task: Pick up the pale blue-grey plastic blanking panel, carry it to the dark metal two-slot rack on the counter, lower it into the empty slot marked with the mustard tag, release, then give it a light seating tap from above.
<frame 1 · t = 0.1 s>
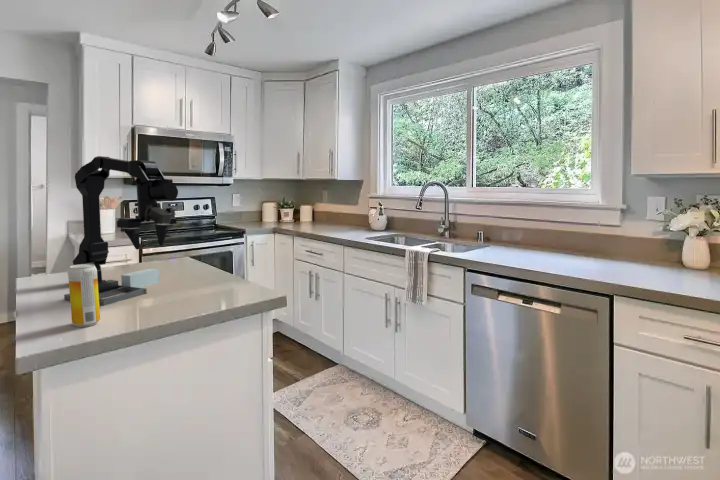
hand: (149, 247, 142), 14 cm above the worktop, tool pointing down, fingers open, 9 cm apart
beer can: (86, 324, 110), on the worktop
rack: (115, 297, 134), on the worktop
panel: (141, 286, 151), on the worktop
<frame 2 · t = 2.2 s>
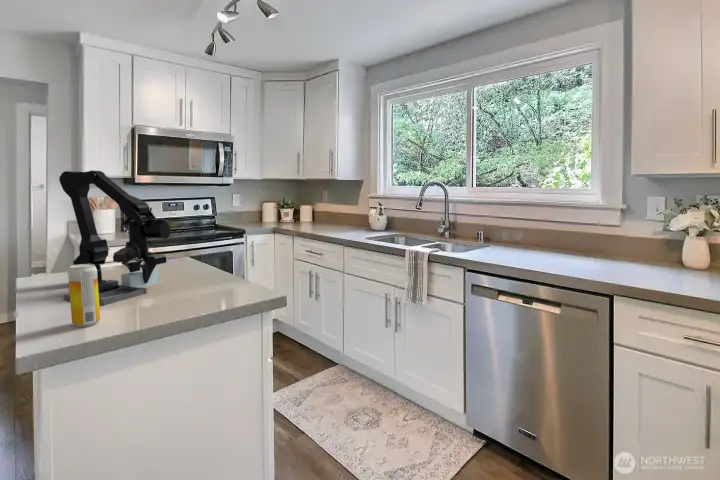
hand: (141, 282, 150), 1 cm above the worktop, tool pointing down, fingers closed on panel, 4 cm apart
panel: (141, 285, 150), on the worktop, touching gripper
everything else where it was.
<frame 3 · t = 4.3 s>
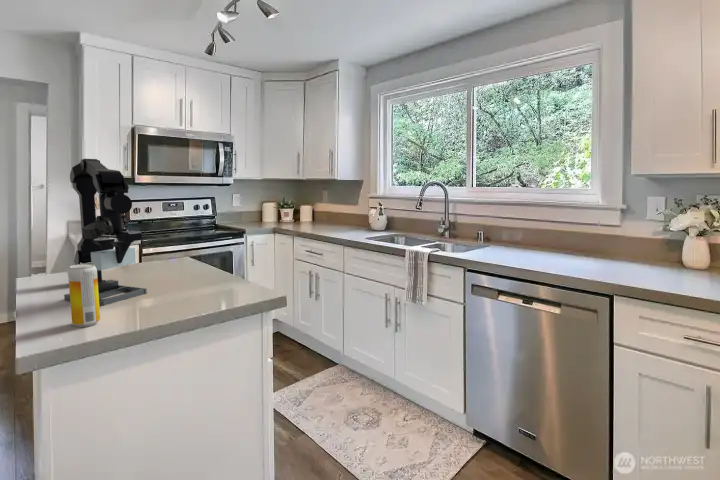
hand: (114, 262, 133), 11 cm above the worktop, tool pointing down, fingers closed on panel, 4 cm apart
panel: (114, 266, 133), point 10 cm above the worktop, touching gripper
everything else where it was.
when the fingers open (3 cm above the worktop, at t = 6.1 s): panel drops 2 cm, resting in rack.
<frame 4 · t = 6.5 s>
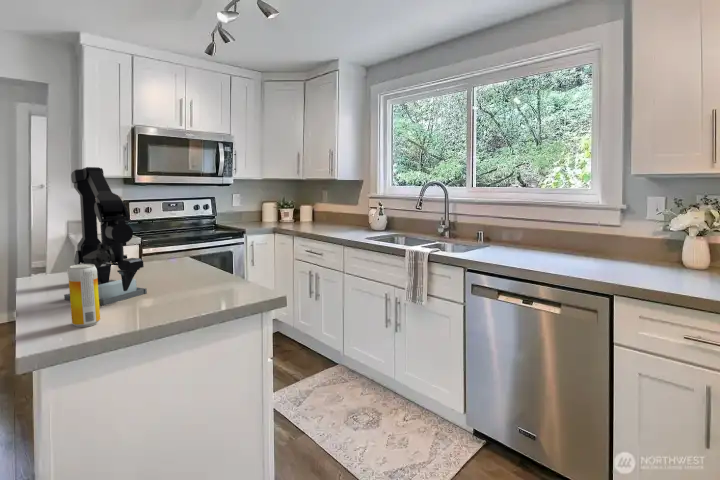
hand: (115, 289, 134), 3 cm above the worktop, tool pointing down, fingers open, 8 cm apart
panel: (115, 298, 135), resting in rack
everything else where it was.
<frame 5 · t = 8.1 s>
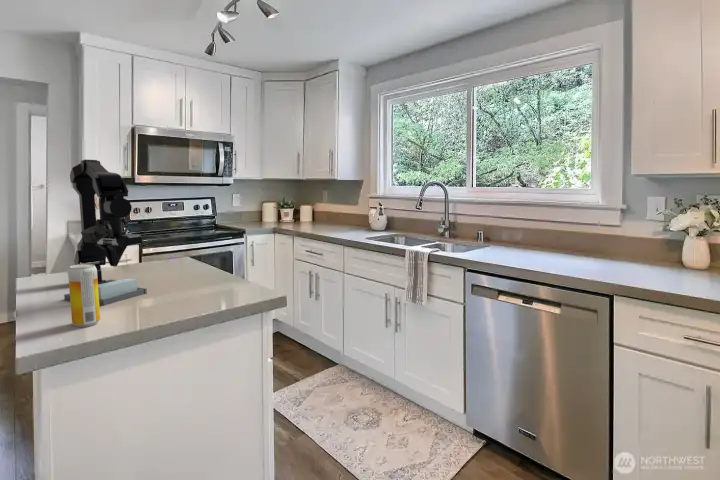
hand: (113, 266, 133), 10 cm above the worktop, tool pointing down, fingers closed
nothing on the worktop moved.
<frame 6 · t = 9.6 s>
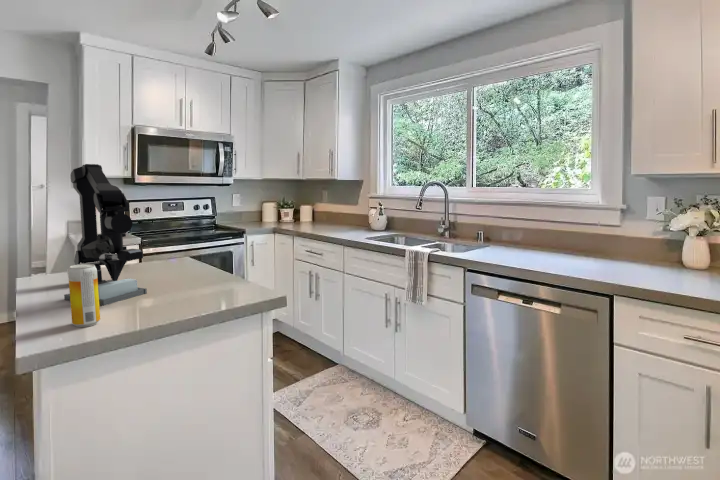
hand: (114, 280, 134), 5 cm above the worktop, tool pointing down, fingers closed
nothing on the worktop moved.
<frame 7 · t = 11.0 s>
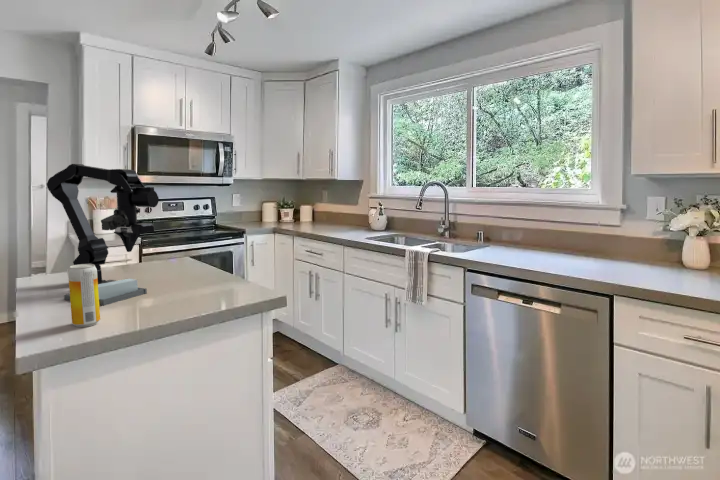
hand: (129, 251, 149), 12 cm above the worktop, tool pointing down, fingers closed
nothing on the worktop moved.
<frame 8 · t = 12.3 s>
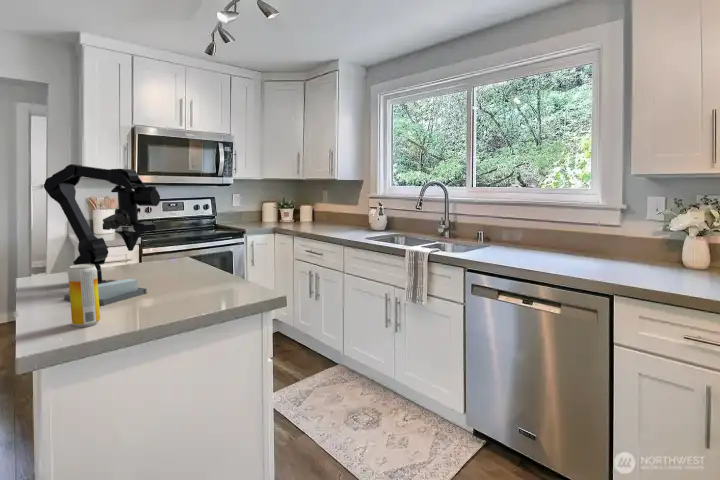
hand: (130, 250, 150), 12 cm above the worktop, tool pointing down, fingers closed
nothing on the worktop moved.
at the end: panel 0.0 cm off-centre on the rack, point 0.0 cm above the rack's base; panel tilted 0°; the gripper is holding nothing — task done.
